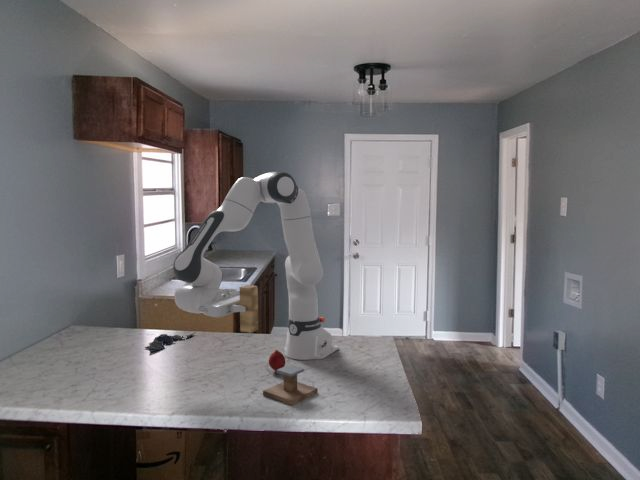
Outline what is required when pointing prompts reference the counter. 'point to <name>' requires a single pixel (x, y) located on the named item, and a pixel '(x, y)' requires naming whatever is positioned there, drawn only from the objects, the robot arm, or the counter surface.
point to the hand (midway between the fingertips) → (251, 307)
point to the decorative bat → (163, 341)
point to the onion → (276, 360)
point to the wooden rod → (249, 308)
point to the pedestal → (290, 387)
